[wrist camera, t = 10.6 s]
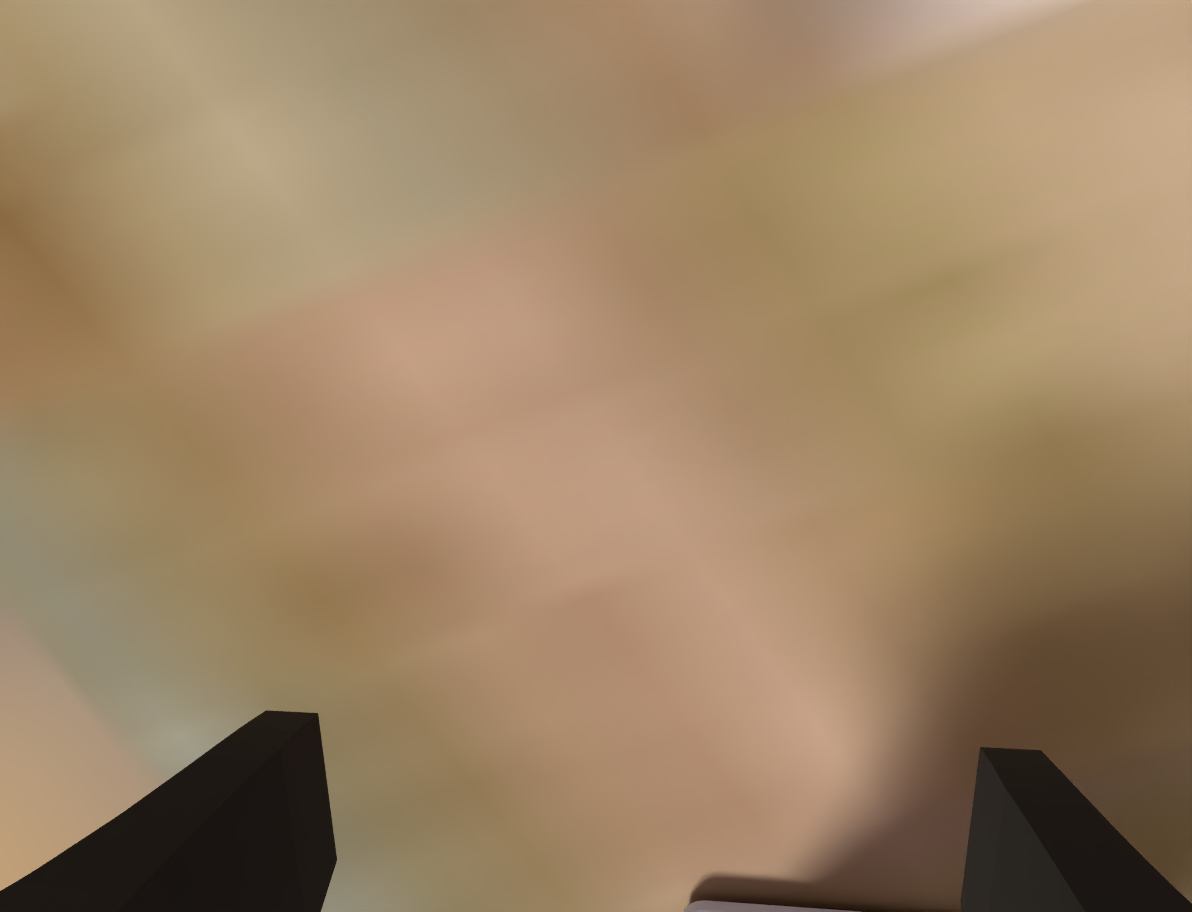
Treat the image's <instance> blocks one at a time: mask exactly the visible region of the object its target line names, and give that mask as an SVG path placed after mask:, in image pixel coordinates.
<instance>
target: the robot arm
mask: <svg viewBox="0 0 1192 912" xmlns="http://www.w3.org/2000/svg"><path fill="white" fill-rule="evenodd" d="M336 861H337V856H336V849H335V841H334V833H333V826H332V818H331V810H330V802H329V795H328V787H327V779H326V771H325V764H324V756H323V748H322V741H321V733H320V725H319V717H318V713H303V712H284V711H265V712H263V713H262V714H260V715H259V716H257V717H255V718H254V719H252V720H251V721H249V722H248V723H246V724H245V725H244V726H242V727H241V728H239V729H238V730H237V731H235V732H234V733H232V734H231V735H229V736H228V737H227V738H225V739H224V740H223V741H221V742H220V743H218V744H217V745H216V746H214V747H213V748H212V749H210V750H209V751H208V752H206V753H205V754H203V755H202V756H201V757H199V758H198V759H197V760H195V761H194V762H192V763H191V764H190V765H188V766H187V767H186V768H184V769H183V770H182V771H180V772H179V773H177V774H176V775H175V776H173V777H172V778H170V779H169V780H168V781H166V782H165V783H163V784H162V785H161V786H159V787H158V788H156V789H155V790H154V791H152V792H151V793H149V794H148V795H147V796H145V797H144V798H142V799H141V800H140V801H138V802H137V803H135V804H134V805H133V806H131V807H130V808H128V809H127V810H126V811H124V812H123V813H121V814H120V815H118V816H117V817H115V818H114V819H112V820H111V821H110V822H108V823H106V824H105V825H103V826H102V827H100V828H99V829H97V830H96V831H94V832H93V833H91V834H90V835H88V836H87V837H85V838H84V839H82V840H81V841H79V842H78V843H76V844H74V845H73V846H72V847H70V848H68V849H67V850H66V851H64V852H62V853H61V854H59V855H58V856H57V857H55V858H53V859H52V860H50V861H49V862H47V863H46V864H44V865H43V866H41V867H40V868H38V869H36V870H35V871H33V872H32V873H30V874H28V875H27V876H25V877H23V878H22V879H20V880H19V881H17V882H15V883H13V884H12V885H10V886H8V887H6V888H5V889H3V890H1V891H0V912H321V909H322V906H323V903H324V900H325V896H326V893H327V890H328V887H329V884H330V880H331V877H332V874H333V871H334V868H335V865H336ZM961 906H962V912H1192V904H1191V903H1190V902H1189V901H1188V900H1187V899H1186V898H1185V897H1184V896H1183V895H1182V894H1181V893H1180V892H1179V891H1177V890H1176V889H1175V888H1174V887H1173V886H1172V885H1171V884H1170V883H1169V882H1168V881H1167V880H1166V879H1165V878H1164V877H1163V876H1162V875H1161V874H1160V873H1159V872H1158V871H1157V870H1156V869H1155V868H1154V867H1153V866H1152V865H1151V864H1150V863H1149V862H1148V861H1147V860H1146V859H1145V858H1144V857H1143V856H1142V855H1141V854H1140V853H1139V852H1138V851H1137V850H1136V849H1135V848H1134V847H1133V846H1132V845H1131V844H1130V843H1129V842H1128V841H1127V840H1126V839H1125V838H1124V837H1123V836H1122V835H1121V834H1120V833H1119V832H1118V831H1117V830H1116V829H1115V828H1114V827H1113V826H1112V825H1111V824H1110V823H1109V822H1108V821H1107V819H1106V818H1105V817H1104V816H1103V815H1102V814H1101V813H1100V812H1099V811H1098V810H1097V809H1096V808H1095V807H1094V806H1093V805H1092V804H1091V803H1090V802H1089V801H1088V800H1087V798H1086V797H1085V796H1084V795H1083V794H1082V793H1081V792H1080V791H1079V790H1078V789H1077V788H1076V787H1075V786H1074V785H1073V784H1072V783H1071V782H1070V780H1069V779H1068V778H1067V777H1066V776H1065V775H1064V774H1063V773H1062V772H1061V771H1060V770H1059V769H1058V768H1057V767H1056V766H1055V765H1054V764H1053V762H1052V761H1051V760H1050V759H1049V758H1048V757H1047V756H1046V755H1045V754H1044V753H1043V752H1042V751H1041V750H1023V749H1004V748H984V747H980V753H979V761H978V769H977V777H976V785H975V793H974V801H973V809H972V817H971V825H970V833H969V841H968V848H967V856H966V864H965V872H964V880H963V888H962V896H961ZM684 912H860V911H846V910H832V909H818V908H804V907H790V906H776V905H762V904H748V903H734V902H720V901H706V900H704V901H695V902H693V903H691V904H689V905H688V906H687V907H686V908H685V909H684Z"/></svg>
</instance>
